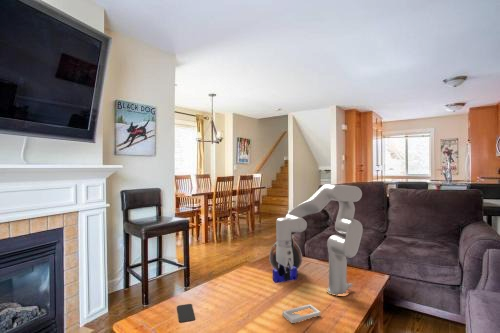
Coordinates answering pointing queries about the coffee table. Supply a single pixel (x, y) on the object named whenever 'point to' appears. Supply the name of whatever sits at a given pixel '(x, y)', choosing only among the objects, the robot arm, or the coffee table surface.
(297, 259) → the amphora vase
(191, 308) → the phone
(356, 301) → the coffee table surface
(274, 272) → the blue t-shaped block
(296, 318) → the tray
